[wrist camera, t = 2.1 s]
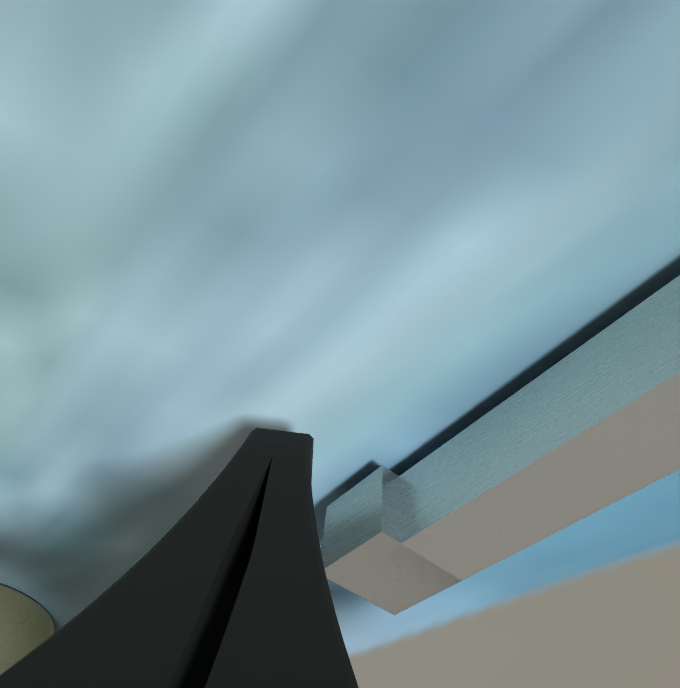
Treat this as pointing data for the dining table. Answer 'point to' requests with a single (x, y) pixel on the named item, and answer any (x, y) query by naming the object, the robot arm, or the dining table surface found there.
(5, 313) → the dining table surface
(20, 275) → the dining table surface
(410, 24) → the dining table surface
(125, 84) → the dining table surface
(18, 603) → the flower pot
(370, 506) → the tong jaw
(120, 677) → the robot arm
